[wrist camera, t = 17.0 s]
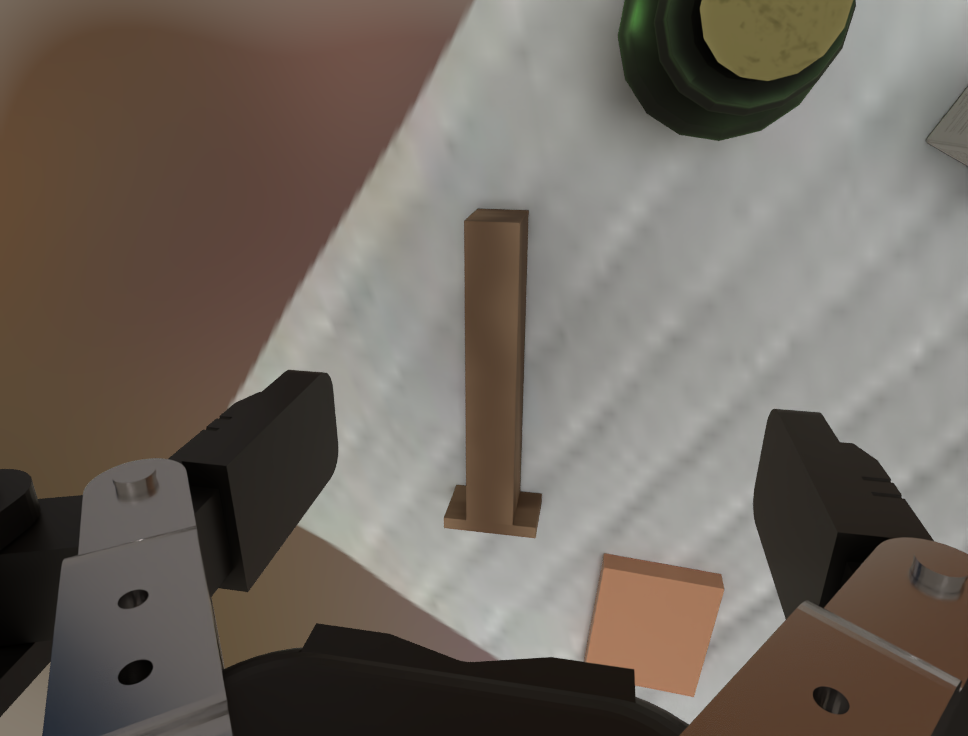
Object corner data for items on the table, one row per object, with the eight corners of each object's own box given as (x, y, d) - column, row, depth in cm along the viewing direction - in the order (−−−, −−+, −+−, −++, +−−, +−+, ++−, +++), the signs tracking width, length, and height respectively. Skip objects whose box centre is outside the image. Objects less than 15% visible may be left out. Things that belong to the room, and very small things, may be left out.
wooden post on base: (554, 211, 38) (548, 223, 35) (541, 502, 46) (535, 538, 43) (453, 207, 39) (436, 219, 36) (457, 494, 47) (444, 527, 44)
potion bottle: (821, 33, 33) (1023, -19, 16) (692, 160, 36) (754, 222, 20) (706, -92, 32) (802, -281, 15) (584, 50, 35) (556, 20, 19)
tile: (724, 589, 44) (693, 696, 48) (719, 569, 46) (690, 675, 50) (603, 567, 45) (583, 675, 49) (604, 549, 47) (584, 654, 51)
